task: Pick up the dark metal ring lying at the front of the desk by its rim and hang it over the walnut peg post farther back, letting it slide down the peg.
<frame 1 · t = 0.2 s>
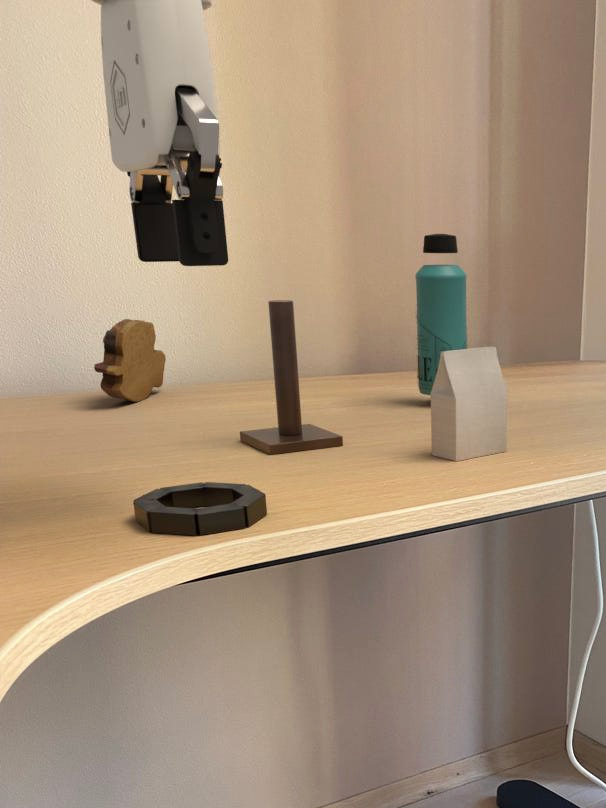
hand: (181, 263, 68), 18 cm above the table, tool pointing down, fingers open, 9 cm apart
ring: (202, 517, 74), on the table
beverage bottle: (442, 405, 122), on the table
post: (291, 443, 99), on the table
wooden carving: (135, 401, 124), on the table
grey peaked boxy piece: (469, 455, 95), on the table
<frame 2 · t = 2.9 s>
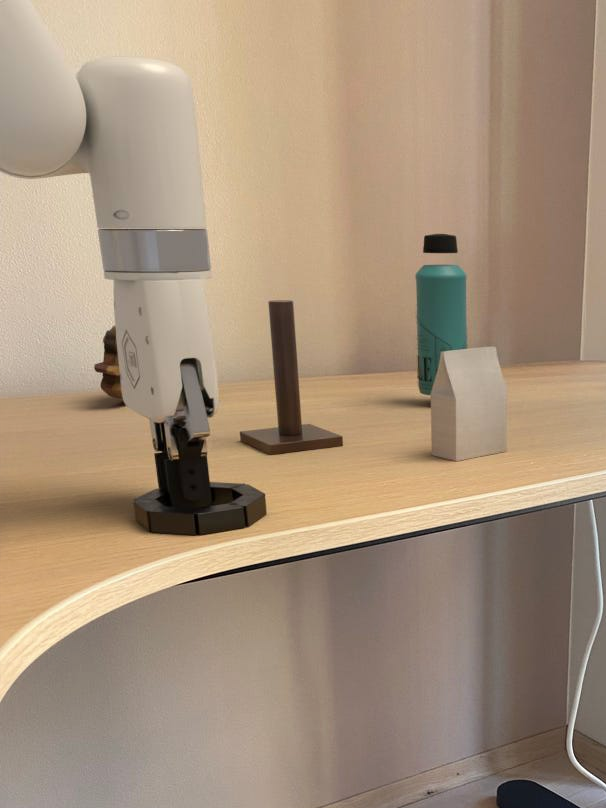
hand: (186, 502, 77), 0 cm above the table, tool pointing down, fingers closed on ring, 1 cm apart
ring: (202, 517, 74), on the table, touching gripper
everything else where it was.
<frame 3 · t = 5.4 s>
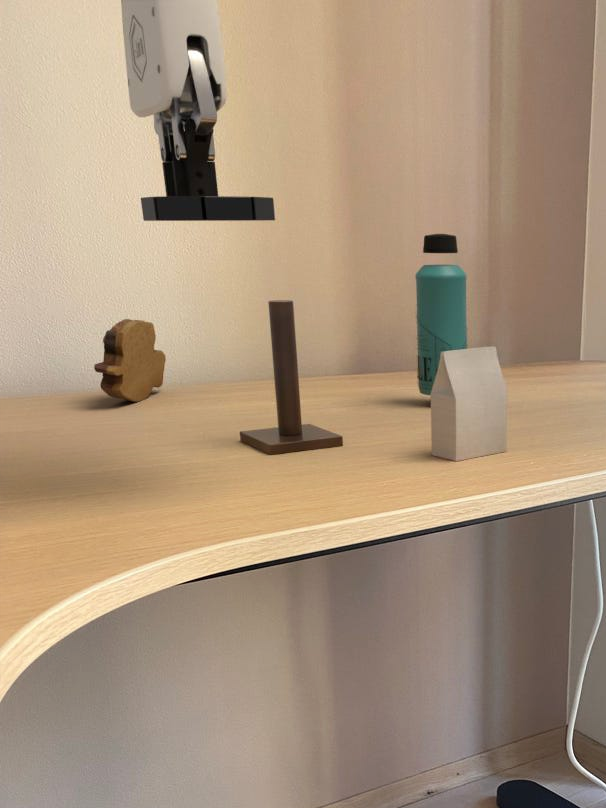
hand: (194, 216, 76), 21 cm above the table, tool pointing down, fingers closed on ring
ring: (210, 220, 73), point 21 cm above the table, touching gripper
everything else where it was.
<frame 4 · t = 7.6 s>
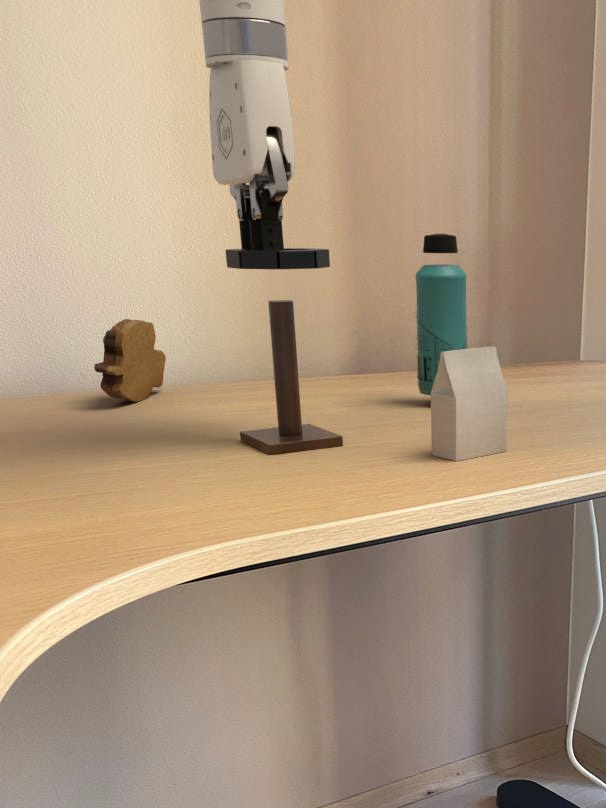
hand: (263, 262, 95), 17 cm above the table, tool pointing down, fingers closed on ring
ring: (279, 267, 93), point 17 cm above the table, touching gripper
everything else where it was.
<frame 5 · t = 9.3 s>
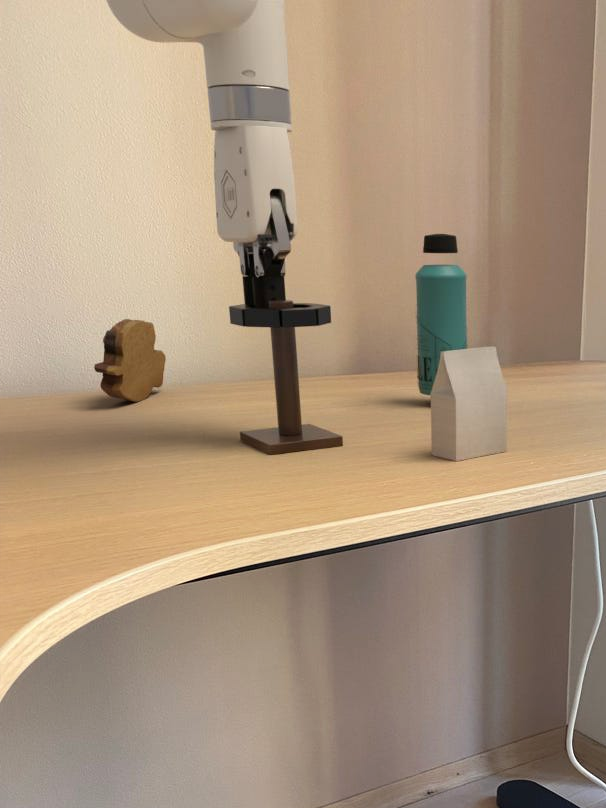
hand: (266, 317, 97), 12 cm above the table, tool pointing down, fingers closed on ring
ring: (281, 323, 95), point 12 cm above the table, touching gripper
everything else where it was.
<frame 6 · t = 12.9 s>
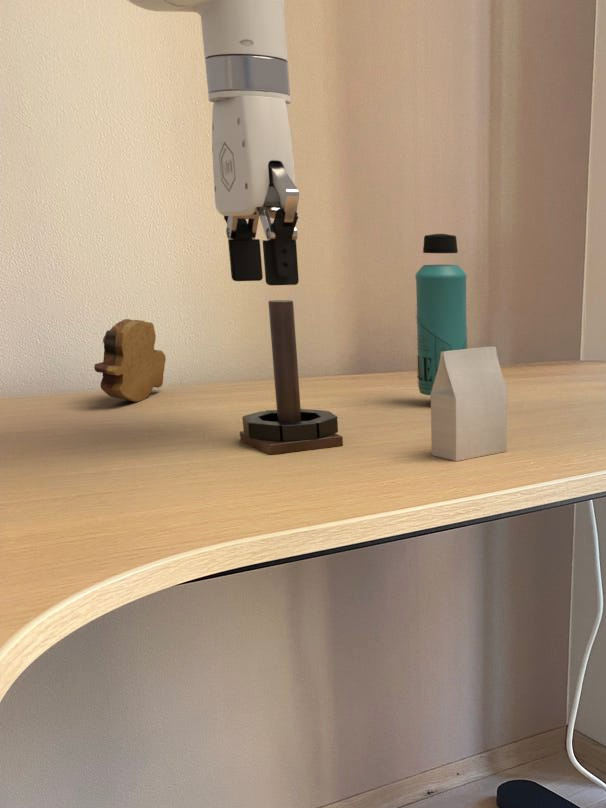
hand: (264, 282, 96), 16 cm above the table, tool pointing down, fingers open, 8 cm apart
ring: (290, 432, 100), point 1 cm above the table, touching post
everything else where it was.
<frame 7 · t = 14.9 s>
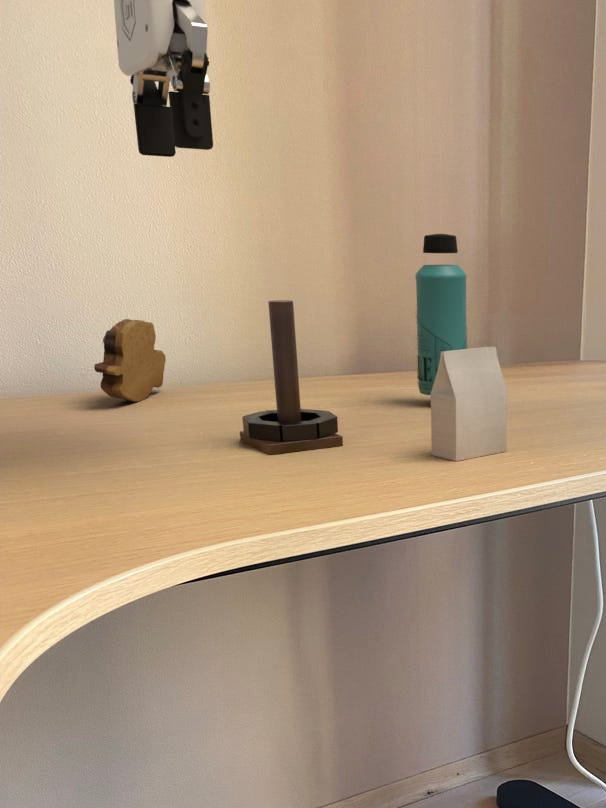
hand: (174, 152, 83), 27 cm above the table, tool pointing down, fingers open, 9 cm apart
nothing on the table moved.
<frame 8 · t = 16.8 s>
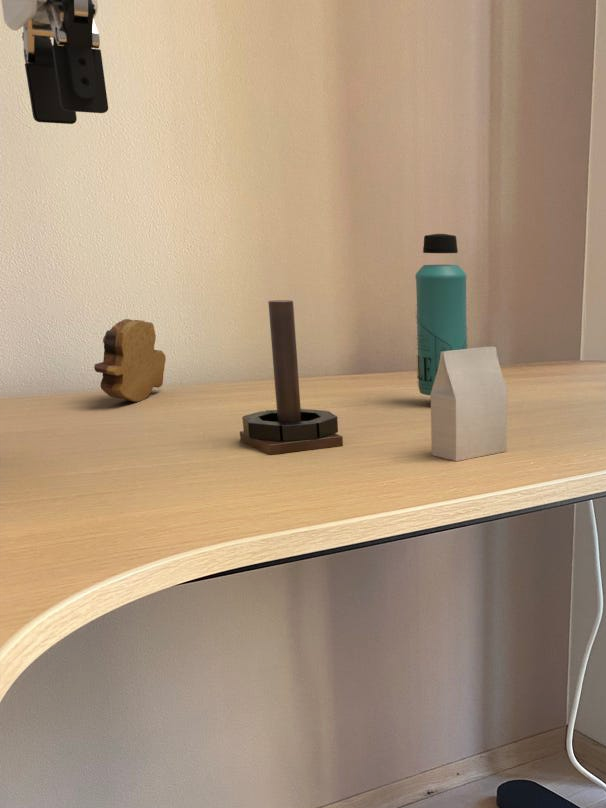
hand: (69, 117, 73), 28 cm above the table, tool pointing down, fingers open, 9 cm apart
nothing on the table moved.
at the end: ring 0.8 cm from the post (horizontally); ring point 1.0 cm above the table; the gripper is holding nothing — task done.
